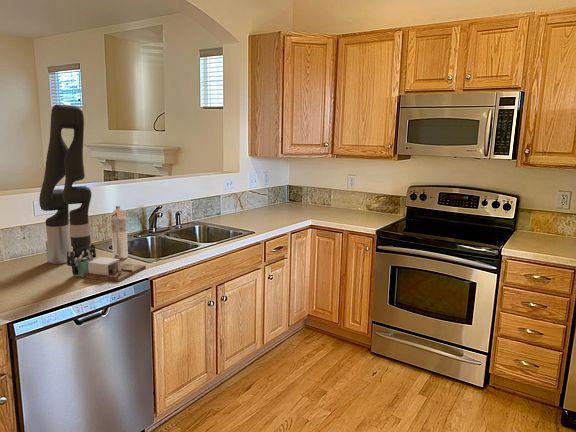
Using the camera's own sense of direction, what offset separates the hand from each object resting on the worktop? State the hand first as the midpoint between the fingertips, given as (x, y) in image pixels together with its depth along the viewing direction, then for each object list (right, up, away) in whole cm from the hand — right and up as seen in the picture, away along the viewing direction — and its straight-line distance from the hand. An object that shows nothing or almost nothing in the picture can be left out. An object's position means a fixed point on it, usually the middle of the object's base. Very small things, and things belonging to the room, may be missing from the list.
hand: (83, 271), depth 185 cm
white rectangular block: (+10, 0, -1) cm, 10 cm away
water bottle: (+6, +3, +25) cm, 26 cm away
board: (+13, -1, +3) cm, 13 cm away
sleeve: (0, -1, 0) cm, 1 cm away
